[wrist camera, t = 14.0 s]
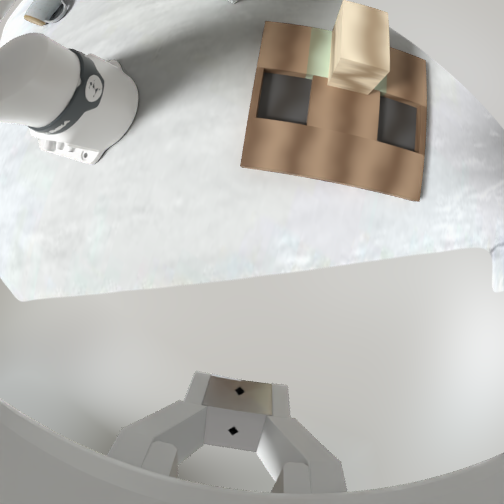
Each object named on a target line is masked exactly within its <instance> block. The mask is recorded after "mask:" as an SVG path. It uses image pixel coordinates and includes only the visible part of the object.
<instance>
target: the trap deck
mask: <svg viewBox="0 0 504 504" xmlns="http://www.w3.org/2000/svg"><path fill="white" fill-rule="evenodd" d="M331 39H332V31H329V30H324V29H319V28H313V27H307V26H301V25H295V24H287V23H279V22H270V21H265V26H264V31H263V36H262V42H261V47H260V52H259V58H258V63H257V69H256V75H255V80H254V86H253V92H252V97H251V103H250V109H249V115H248V121H247V127H246V133H245V140H244V146H243V152H242V159H241V165H240V166H241V167H242V168H250V169H257V170H264V171H270V172H277V173H283V174H289V175H295V176H301V177H306V178H312V179H317V180H323V181H328V182H333V183H338V184H343V185H347V186H352V187H357V188H361V189H366V190H370V191H374V192H379V193H383V194H387V195H391V196H395V197H399V198H403V199H407V200H411V201H419V200H420V193H421V185H422V177H423V167H424V156H425V142H426V120H427V83H426V62H425V60H423V59H421V58H419V57H416V56H413V55H411V54H408V53H406V52H403V51H400V50H397V49H394V48H391V47H390V72H389V73H388V74H387V75H386V76H385V77H384V78H383V79H382V80H381V81H380V82H379V84H378V85H377V86H376V87H375V88H374V89H373V90H372V91H371V92H370V93H369V94H368V95H366V94H362V93H358V92H355V91H351V90H346V89H342V88H338V87H333V86H329V85H327V84H328V74H329V63H330V52H331Z"/></svg>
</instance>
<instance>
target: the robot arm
mask: <svg viewBox="0 0 504 504" xmlns="http://www.w3.org/2000/svg"><path fill="white" fill-rule="evenodd" d="M15 1H16V0H0V22H1V21H2V19H3V18H4V17H5V15H6V14H7V13H8V11H9V10H10V9H11V7H12V6H13V4H14V3H15ZM137 107H138V90H137V87H136V85H135V83H134V81H133V80H132V79H131V78H130V77H129V76H128V75H126V74H125V73H124V72H123V71H122V68H121V65H120V63H119V62H118V61H116V60H110V61H105V60H103V59H101V58H99V57H97V56H95V55H93V54H88V55H85V54H83V53H82V52H78V51H76V50H74V49H67V48H66V47H64V46H62V45H61V44H59V43H57V42H56V41H54V40H52V39H51V38H49V37H47V36H45V35H44V34H41V33H28V34H25V35H21V36H19V37H16V38H14V39H12V40H11V41H9V42H8V43H6V44H5V45H4V46H2V47H1V48H0V123H11V124H19V125H25V126H28V127H29V128H30V133H31V135H32V137H36V138H38V142H39V147H40V149H41V150H43V151H46V152H50V153H53V154H57V155H60V156H63V157H67V158H70V159H74V160H77V161H80V162H84V163H87V164H90V165H93V164H95V163H96V162H97V161H98V160H99V159H100V157H101V156H102V154H103V153H104V151H105V150H106V149H108V148H109V147H110V146H112V145H113V144H115V143H116V142H117V141H118V140H119V139H120V138H121V137H122V136H123V135H124V134H125V133H126V131H127V130H128V129H129V127H130V125H131V124H132V122H133V119H134V117H135V114H136V111H137ZM86 155H87V157H86ZM203 444H208V445H214V446H220V447H227V448H234V449H240V450H246V451H253V452H256V453H257V455H258V456H259V458H260V460H261V461H262V462H263V464H264V466H265V467H266V469H267V470H268V472H269V473H270V475H271V476H272V478H273V479H274V481H275V482H276V483H275V485H274V487H273V489H272V491H271V493H269V492H256V491H247V490H238V489H231V488H224V487H218V486H212V485H207V484H201V483H196V482H192V481H187V480H183V479H179V478H178V465H179V464H180V463H182V462H183V461H184V460H185V459H187V458H188V457H189V456H191V454H193V453H194V452H195V451H197V450H198V449H199V448H200V447H202V446H203ZM0 504H504V453H502V454H500V455H498V456H495V457H493V458H490V459H488V460H485V461H483V462H480V463H478V464H475V465H472V466H469V467H466V468H463V469H460V470H457V471H454V472H451V473H447V474H444V475H441V476H437V477H433V478H429V479H425V480H421V481H417V482H413V483H408V484H403V485H397V486H392V487H385V488H378V489H371V490H364V491H353V492H347V488H346V483H345V478H344V474H343V469H342V464H341V461H339V460H338V459H337V458H336V457H335V456H334V455H333V454H332V453H331V452H329V450H327V449H326V448H325V447H324V446H323V445H322V444H321V443H320V442H319V441H318V440H317V439H316V438H315V437H314V436H312V434H311V433H309V431H307V430H306V429H305V428H304V427H303V426H302V425H301V424H300V423H299V422H298V421H297V420H296V419H295V418H291V417H290V405H289V394H288V386H287V385H284V384H273V383H272V384H268V383H260V382H253V381H246V380H240V379H235V378H230V377H225V376H220V375H215V374H209V373H205V372H200V371H196V372H195V373H194V375H193V378H192V380H191V383H190V385H189V388H188V391H187V393H186V396H185V399H184V401H181V400H179V401H176V402H175V403H173V404H171V405H169V406H167V407H165V408H163V409H161V410H159V411H157V412H155V413H153V414H151V415H149V416H147V417H145V418H143V419H141V420H138V421H136V422H134V423H132V424H130V425H128V426H126V427H123V428H122V429H121V431H120V433H119V434H118V436H117V438H116V440H115V441H114V443H113V445H112V447H111V448H110V450H109V452H108V454H107V456H106V455H104V454H101V453H99V452H96V451H94V450H92V449H90V448H87V447H85V446H83V445H81V444H78V443H76V442H74V441H72V440H70V439H68V438H66V437H64V436H62V435H60V434H58V433H56V432H54V431H53V430H51V429H49V428H47V427H45V426H44V425H42V424H40V423H38V422H36V421H35V420H33V419H32V418H30V417H28V416H27V415H25V414H24V413H22V412H20V411H19V410H17V409H16V408H14V407H13V406H11V405H10V404H8V403H7V402H5V401H4V400H3V399H1V398H0Z"/></svg>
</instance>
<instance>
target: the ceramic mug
mask: <svg viewBox="0 0 504 504" xmlns="http://www.w3.org/2000/svg"><path fill="white" fill-rule="evenodd" d="M62 3H63V5H64V10H63V12H62V13H61V15H60V16H59V17H57V18H56V19H54V20H51V21H50V20H49V19H50V18H51V17H52V15H53V14H54V13H55V12H56V10H57V9H58V8H59V7H60V5H61V4H62ZM66 11H67V5H66V4H65V3H64V0H34V1H33V3H32V4H31V6H30V7H29V8H28V10H27V12H26V14H25V16H24V18H25V19H26V20H27V21H29V22H31V23H34V24H37V25H40V26H43V25H45V24H46V23H55V22H57V21H59V20H60V19H61V18H62V17H63V16H64V15H65V14H66Z"/></svg>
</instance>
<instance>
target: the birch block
mask: <svg viewBox="0 0 504 504" xmlns="http://www.w3.org/2000/svg"><path fill="white" fill-rule="evenodd" d="M389 72H390V44H389V22H388V13H387V12H384V11H381V10H378V9H375V8H372V7H368V6H365V5H361V4H357V3H353V2H350V1H346V0H343V2H342V5H341V8H340V10H339V13H338V16H337V19H336V22H335V25H334V28H333V31H332V39H331V52H330V63H329V74H328V84H327V85H329V86H333V87H338V88H342V89H346V90H351V91H355V92H358V93H362V94H366V95H368V94H369V93H370V92H371V91H372V90H373V89H374V88H375V87H376V86H377V85H378V84H379V82H380V81H381V80H382V79H383V78H384V77H385V76H386V75H387V74H388V73H389Z"/></svg>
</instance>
